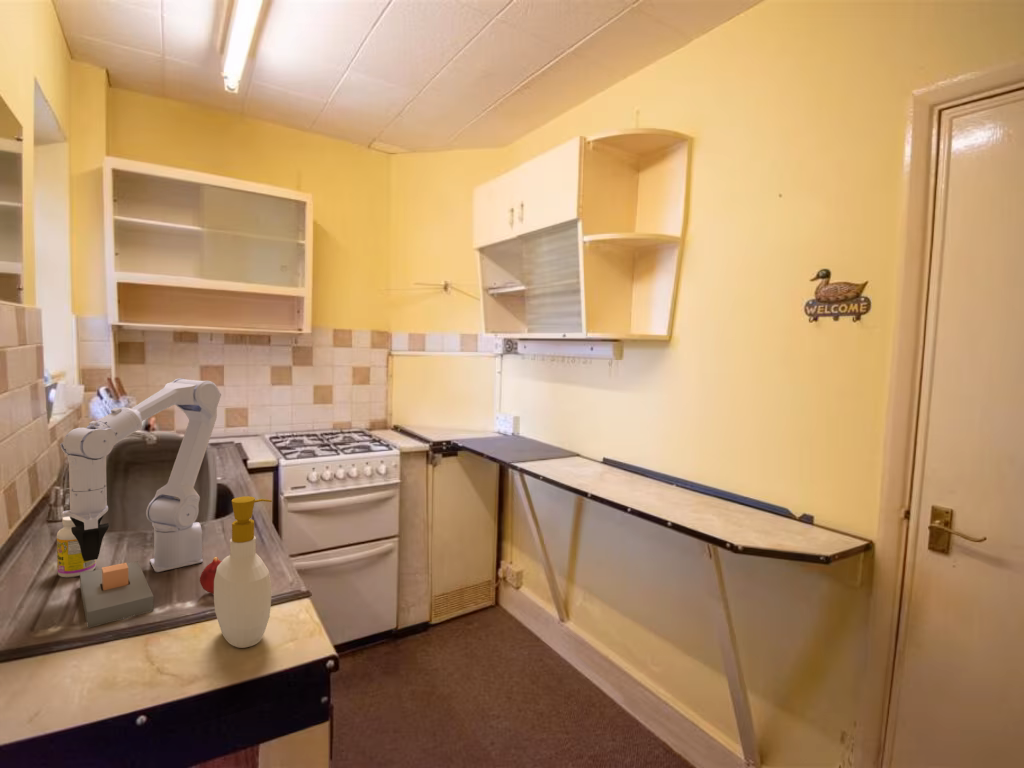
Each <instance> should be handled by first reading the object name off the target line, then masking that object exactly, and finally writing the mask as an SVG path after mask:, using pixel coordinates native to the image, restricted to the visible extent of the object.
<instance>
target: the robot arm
mask: <svg viewBox="0 0 1024 768" xmlns="http://www.w3.org/2000/svg"><path fill="white" fill-rule="evenodd" d="M221 397H222V393H221V392H220V390H219V388H218V386H217V384H216V383H214V381H210V380H196V379H186V378H176V379H174V380H173V381H171V382H168V383H165V385H164V387H163V388H161V389H159V390H158V391H157V392H155V393H153V394H152V395H151V396H149V397H147V398H146V399H144V400H142V401H141V402H139V403H138V404H136V405H134V406H133V407H131V408H129V407H123V406H122V407H114V408H112V409H111V410H110V413H109V414H107V415H105V416H103V417H101V418H99V419H97V420H92V421H90V422H88V425H87V426H86V427H76V428H74V429H71V430H70V431H68V433H67V434H65V437H64V438H63V441H62V442H61V443H59V445H60V449H61V451H62V452H63V453H64V454H65V455H66V457H67V463H68V479H69V481H68V482H69V483H68V484H69V487H68V489H69V510H64V511H62V512H61V513H62V514H61V516H62V518H63V517H70V519H71V520H72V522H73V523H74V525H75V527H72V528H71V531H72V533H73V535H74V536H75V537H76V539H77V541H78V543H79V545H80V549H81V554H82V557H83V560H84V561H90V560H95V559H96V560H98V558H99V555H100V553H101V551H100V550H101V546H102V544H103V543H102V542H103V540H104V536H105V534H106V532H108V529H109V527H110V524H109V523H102V524H101V522H102V521H103V518H104V516H105V515H106V513H107V512H108V511H109V505H108V502H107V501H108V499H107V496H108V495H107V492H108V491H107V488H108V487H107V456H108V455H109V454H110V453H112V450H113V449H114V446H115V445H116V444H118V443H119V442H121V441H122V440H124V439H126V438H128V437H129V436H130V435H133V434H134V433H135V432H138V431H139V430H140V429H141V428H142V425H143V422H144V421H145V420H147V419H149V418H152V417H154V416H155V415H157V414H159V413H161V412H163V411H165V410H167V409H169V408H171V407H172V406H176V407H177V408H178V409H180V411H182V412H183V413H184V414H185V416H186V417H187V418H188V423H187V425H186V426H187V427H186V429H185V432H184V435H183V437H182V441H181V443H180V447H179V449H178V452H177V454H176V457H175V458H176V459H175V460H174V463H173V466H172V470H171V472H170V476H169V478H168V481H167V483H166V484H165V485H163V486H162V487H160V488H158V489H157V490H156V492H155V495H154V496H153V498H152V499H151V501H150V502H149V503H148V505H147V507H146V511H145V516H146V518H147V520H148V521H149V522H150V523H151V526H152V527H153V528H154V529H153V530H154V531H153V539H154V541H153V544H154V546H153V549H154V550H153V553H154V555H153V556H154V558H150V559H149V563H150V564H151V566H152V568H153V570H154V572H155V573H160V572H164V571H165V572H166V571H169V570H174V569H177V568H182V567H187V566H191V565H195V564H200V563H201V564H202V563H203V561H204V560H203V530H202V525H201V523H200V522H198V521H196V520H197V519H198V516H199V512H200V510H199V502H200V499H201V497H200V495H199V494H198V492H197V490H195V488H194V487H195V485H196V482H197V480H198V479H197V478H198V476H199V472H200V470H201V466H202V464H203V460H204V457H205V455H206V451H207V449H208V445H209V442H210V439H211V436H212V433H213V429H214V427H215V425H216V420H217V416H218V406H219V404H220V403H219V402H220V399H221ZM152 527H151V528H152Z"/></svg>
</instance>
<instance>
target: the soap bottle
mask: <svg viewBox="0 0 1024 768" xmlns="http://www.w3.org/2000/svg"><path fill="white" fill-rule="evenodd" d="M261 502H267V503H272V502H273V500H272V499H266V498H258V499H256V498H255V497H253V496H251V495H250V496H249V495H248V496H247V495H246V496H245V495H244V496H239V497H234V498H232V500H231V505H232V510H233V517H234V521H233V522H232V523H231V538H230V539H229V555H227V556H225V557H224V558H223V559H222V560H221V561H222V562H221V563H220V564H219V565H218V566H217V570H216V574H215V579H214V594H213V602H214V605H213V606H214V612H215V613H214V614H215V616H216V619H217V623H218V626H219V628H220V631H221V634H222V636H223V639H225V640H226V641H227V642H228V644H230V645H231V646H233V647H236V648H243V649H244V648H248V647H253V646H255V645H257V644H258V643H260V642H261V641H262V639H263V636H264V635H265V631H266V629H267V625H268V623H269V619H270V616H271V615H270V614H271V606H272V580H271V576H270V570H269V569H268V567H267V566H266V564H265V562H264V561H263V559H262V558H261V557H260V556H259V555H258V553H256V550H257V549H256V547H257V546H256V543H257V540H256V539H257V538H256V536H255V520H254V519H252V518H253V512H254V507H255V503H261Z"/></svg>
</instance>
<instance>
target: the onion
mask: <svg viewBox="0 0 1024 768" xmlns="http://www.w3.org/2000/svg"><path fill="white" fill-rule="evenodd" d="M222 561H223V560H220V559H219V557H217V556H214V557H213V559H212V561H211V563H208V564H207V565H206V566H205V568H204V569H202V572H201V573H200V576H199V582H200V586H201V588H203V589H202V590H204V591H206V592H208V593H210V594H212V595H214V579H215V574H216V570H217V566H218V565H219V564H220V563H221V562H222Z"/></svg>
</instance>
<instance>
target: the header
mask: <svg viewBox="0 0 1024 768" xmlns="http://www.w3.org/2000/svg"><path fill="white" fill-rule="evenodd" d="M126 563H127V566H128V585H125V586H121V587H116V588H112V589H108V590H103V591H102V568H98V569H94V570H93V571H88V572H83V573H80V576H79V588H80V595H81V601H82V604H83V609H84V615H85V621H86V625H87V629H89V628H93V627H97V626H100V625H104V624H109V623H112V622H116V621H120V620H123V618H124V619H127V618H130V617H134V616H138V615H142V614H145V613H149V612H152V611H153V612H154V594H153V592H152V590H151V587H150V585H149V583H148V581H147V579H146V576H145V573H144V572H143V570H142V567H141V565H140V562H139V561H138V560H137V561H134V562H133V561H131V562H126ZM108 622H109V623H108Z"/></svg>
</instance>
